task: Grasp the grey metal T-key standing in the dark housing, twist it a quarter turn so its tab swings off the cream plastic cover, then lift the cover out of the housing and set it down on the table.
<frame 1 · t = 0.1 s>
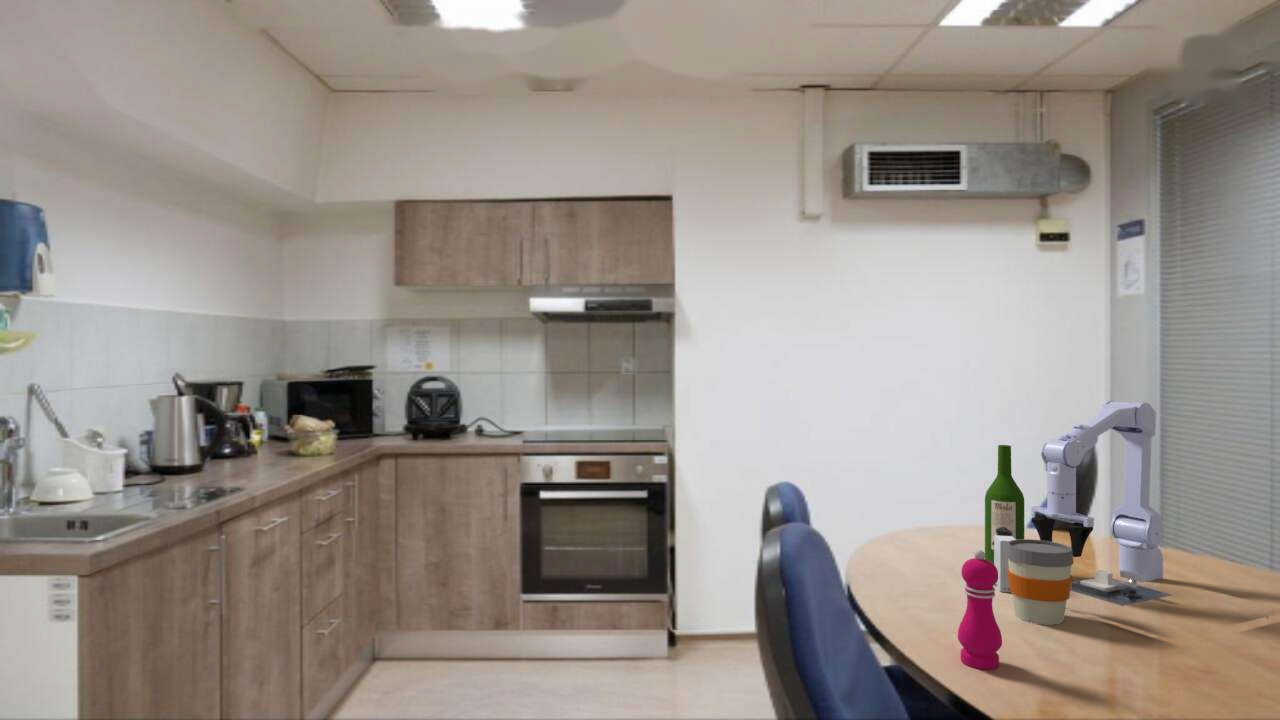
hand: (1061, 552, 174), 10 cm above the table, tool pointing down, fingers open, 7 cm apart
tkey: (1128, 581, 171), point 4 cm above the table, hinge at 0.0°
pepper mill: (979, 663, 135), on the table
wine bottle: (1004, 576, 191), on the table
skincare box: (1006, 589, 179), on the table
reusable coffee cup: (1039, 618, 159), on the table
housing: (1112, 595, 175), on the table
cover: (1103, 587, 177), point 1 cm above the table, touching housing
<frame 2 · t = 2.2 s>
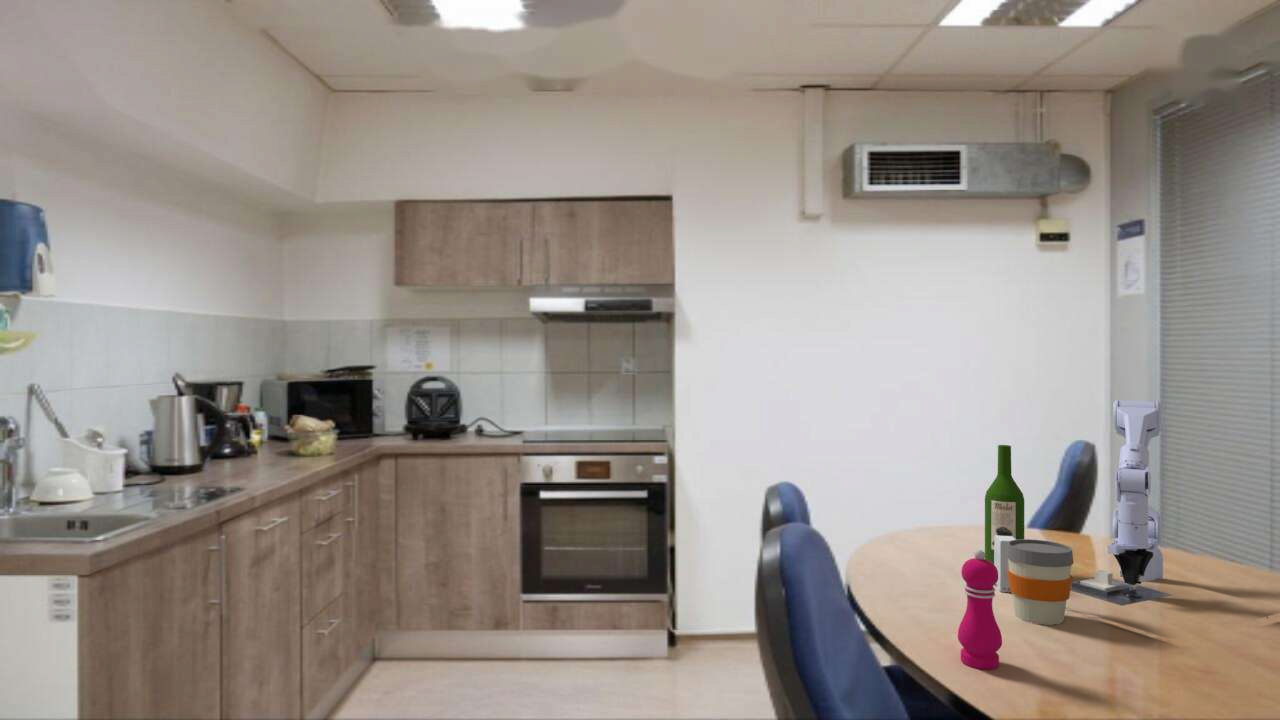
hand: (1132, 583, 171), 4 cm above the table, tool pointing down, fingers closed on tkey
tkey: (1128, 581, 171), point 4 cm above the table, hinge at 0.0°, touching gripper
everything else where it was.
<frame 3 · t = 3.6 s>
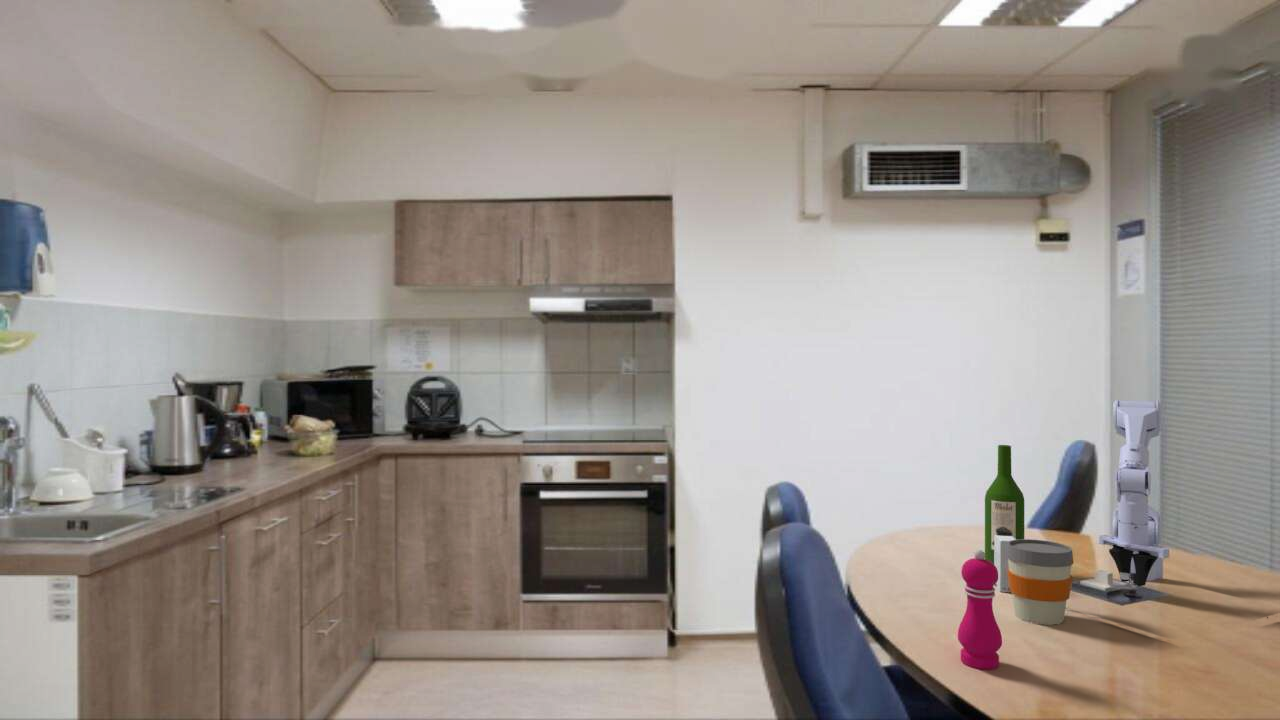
hand: (1133, 583, 171), 4 cm above the table, tool pointing down, fingers closed on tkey, 3 cm apart
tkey: (1127, 583, 171), point 4 cm above the table, hinge at 59.2°, touching gripper
everything else where it was.
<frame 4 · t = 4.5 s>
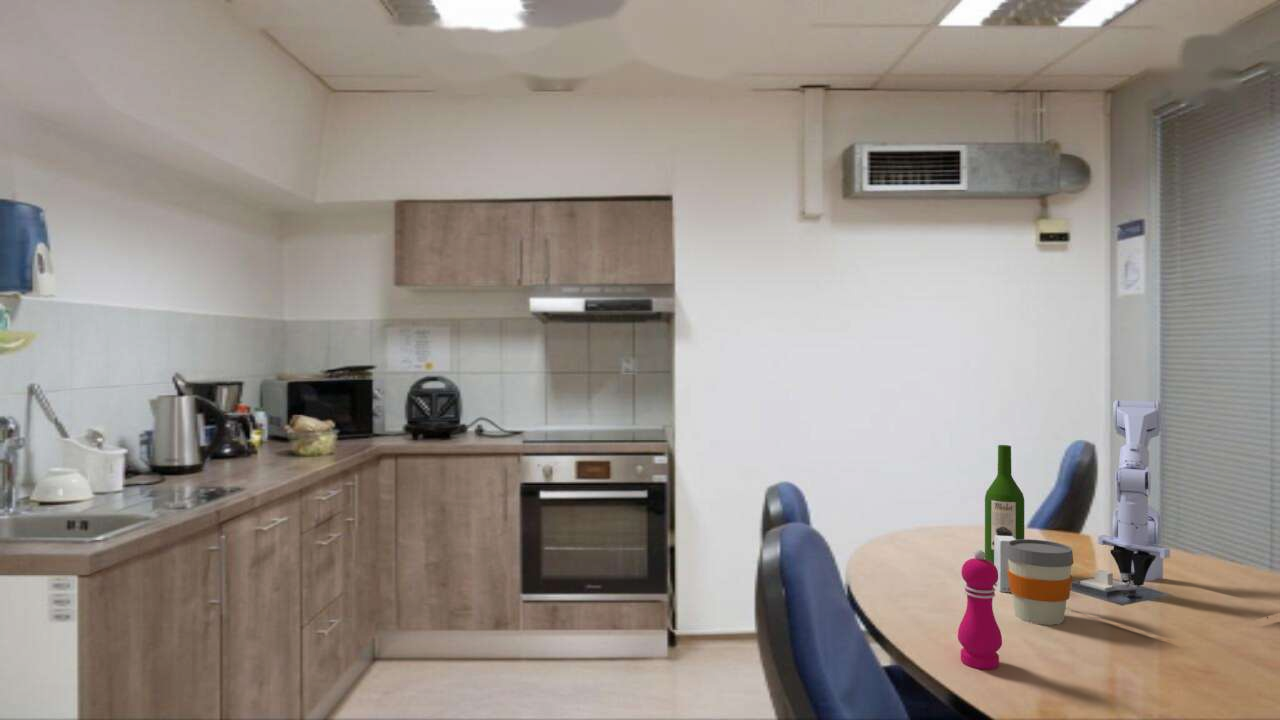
hand: (1132, 583, 171), 4 cm above the table, tool pointing down, fingers closed on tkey, 2 cm apart
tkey: (1128, 583, 170), point 4 cm above the table, hinge at 72.5°, touching gripper
everything else where it was.
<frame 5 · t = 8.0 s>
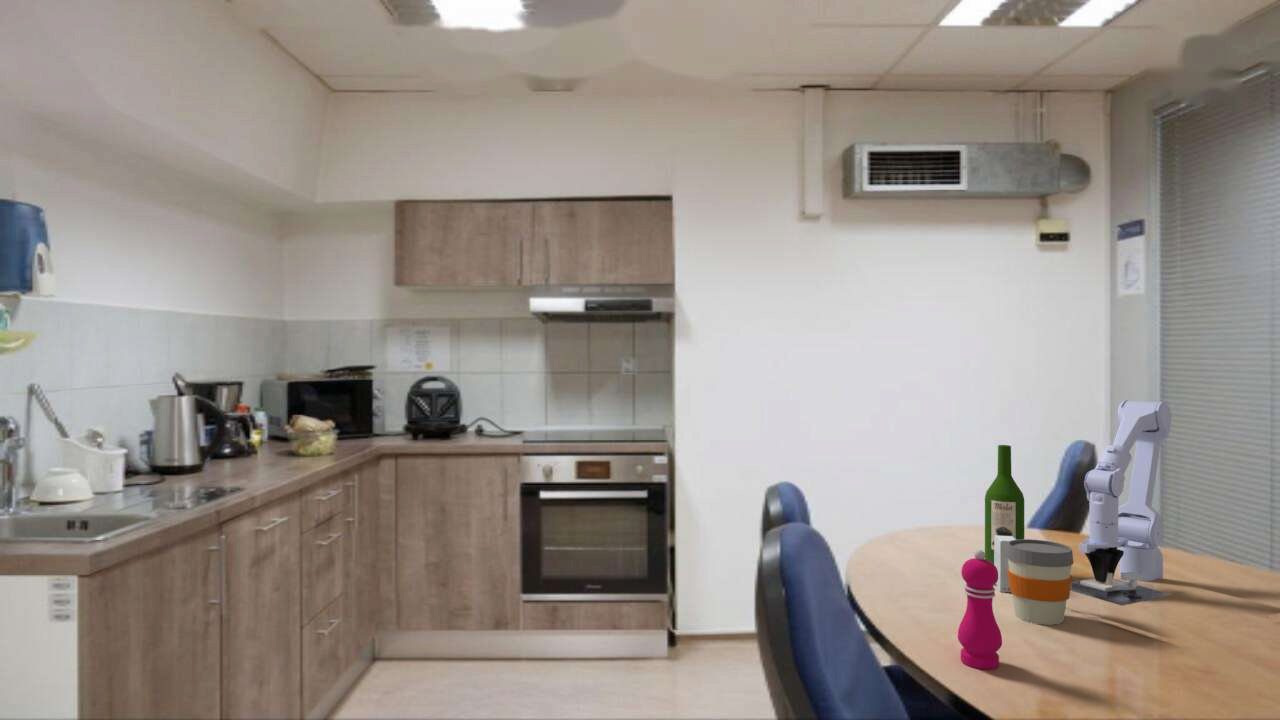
hand: (1103, 580, 177), 3 cm above the table, tool pointing down, fingers closed on cover, 2 cm apart
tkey: (1128, 583, 170), point 4 cm above the table, hinge at 73.1°
cover: (1103, 587, 177), point 1 cm above the table, touching gripper, housing
everything else where it was.
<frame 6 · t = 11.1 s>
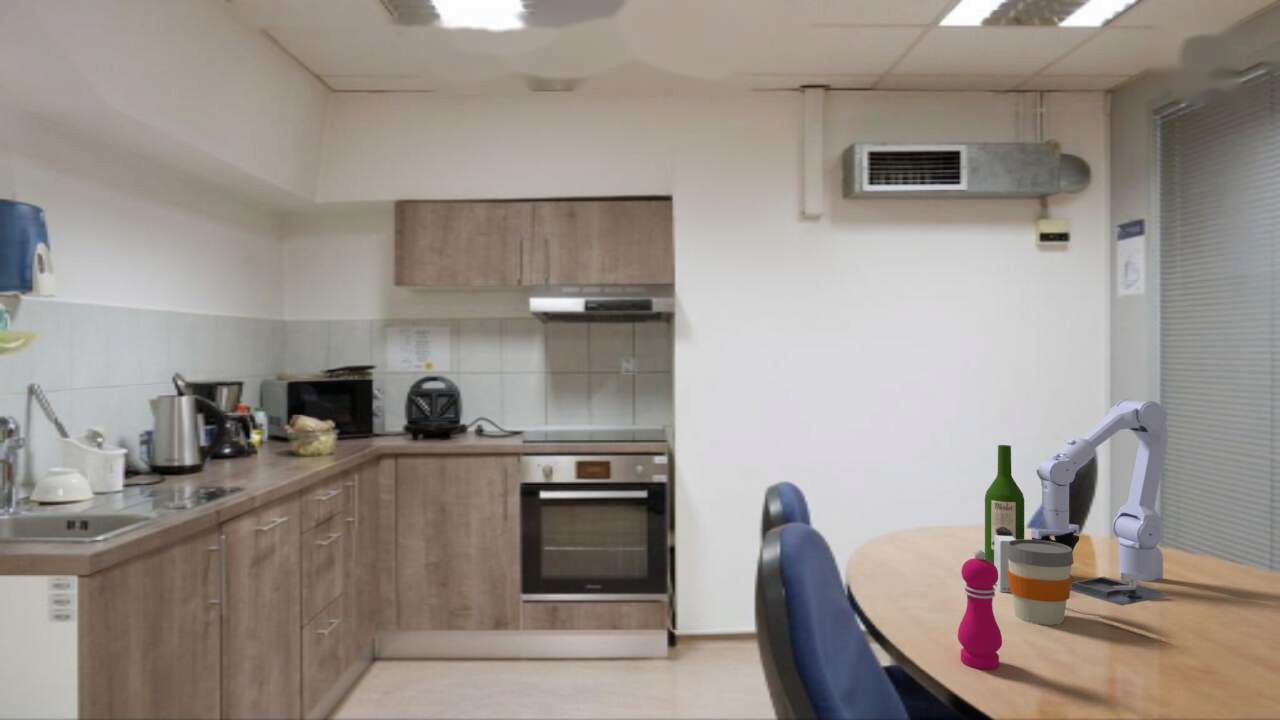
hand: (1055, 565, 184), 4 cm above the table, tool pointing down, fingers open, 5 cm apart
cover: (1055, 585, 184), on the table
everything else where it was.
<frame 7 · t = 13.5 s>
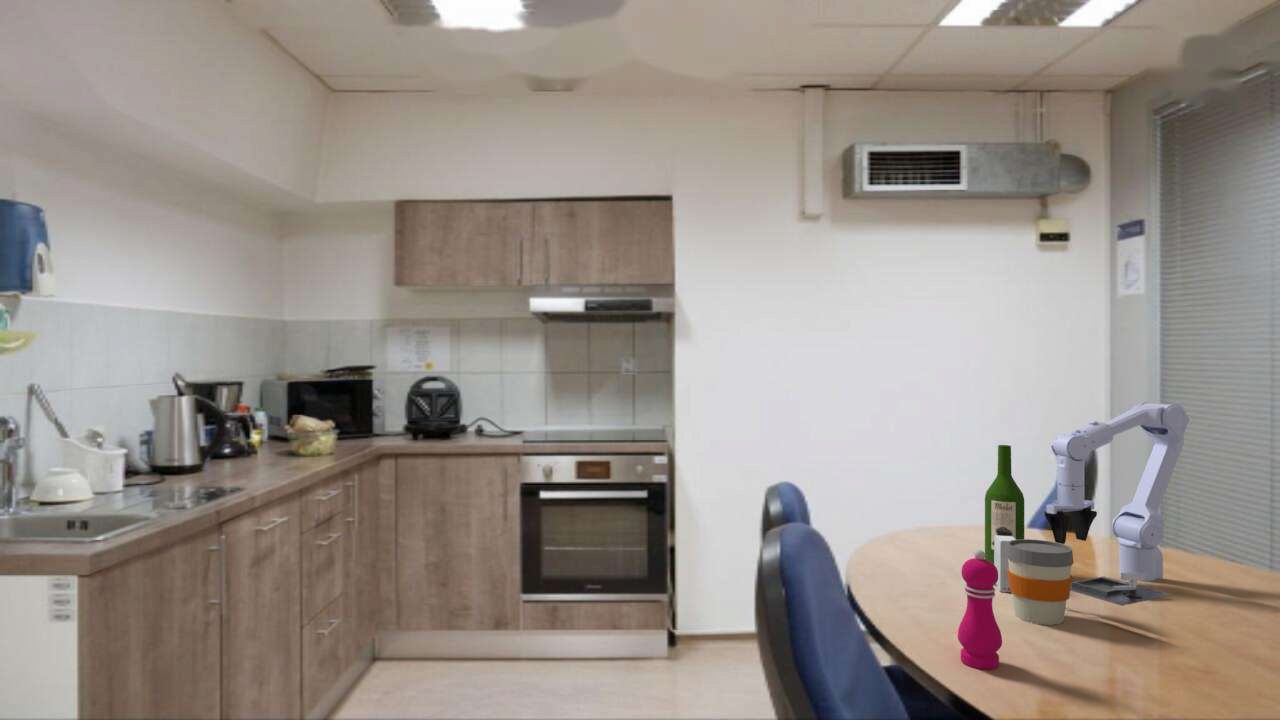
hand: (1070, 541, 183), 10 cm above the table, tool pointing down, fingers open, 7 cm apart
nothing on the table moved.
at the end: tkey at +73° (first picture: +0°); cover inside the target area (0.1 cm from its centre), on the table; cover tilted 0° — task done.
